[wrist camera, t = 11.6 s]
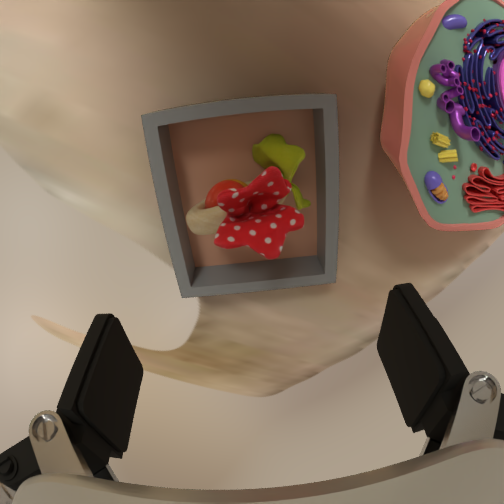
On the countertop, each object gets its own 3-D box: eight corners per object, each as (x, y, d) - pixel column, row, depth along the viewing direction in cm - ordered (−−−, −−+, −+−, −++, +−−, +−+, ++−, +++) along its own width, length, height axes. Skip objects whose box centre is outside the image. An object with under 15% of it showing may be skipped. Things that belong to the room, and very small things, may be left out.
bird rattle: (243, 217, 28) (337, 191, 23) (184, 305, 20) (311, 291, 15) (210, 157, 25) (306, 119, 20) (129, 230, 17) (257, 182, 12)
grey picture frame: (154, 111, 21) (141, 115, 18) (323, 93, 21) (336, 94, 18) (187, 275, 29) (181, 298, 25) (326, 261, 28) (335, 282, 25)
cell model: (301, 106, 21) (350, 119, 12) (436, -23, 14) (517, -48, 4) (420, 232, 27) (485, 302, 17) (523, 110, 20) (599, 137, 10)
